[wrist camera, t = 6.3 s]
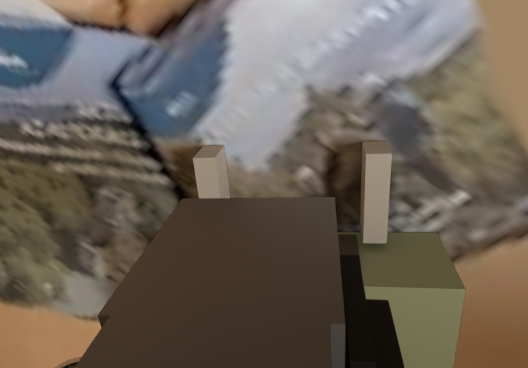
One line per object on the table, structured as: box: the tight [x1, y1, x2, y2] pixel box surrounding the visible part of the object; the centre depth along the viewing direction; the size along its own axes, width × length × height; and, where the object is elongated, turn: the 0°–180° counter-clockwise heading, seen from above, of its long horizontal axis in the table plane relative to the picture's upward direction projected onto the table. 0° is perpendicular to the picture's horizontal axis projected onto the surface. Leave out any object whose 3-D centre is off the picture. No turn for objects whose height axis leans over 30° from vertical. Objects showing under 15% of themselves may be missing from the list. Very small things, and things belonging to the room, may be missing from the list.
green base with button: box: [193, 141, 466, 368], centre depth 20 cm, size 16×16×10 cm
